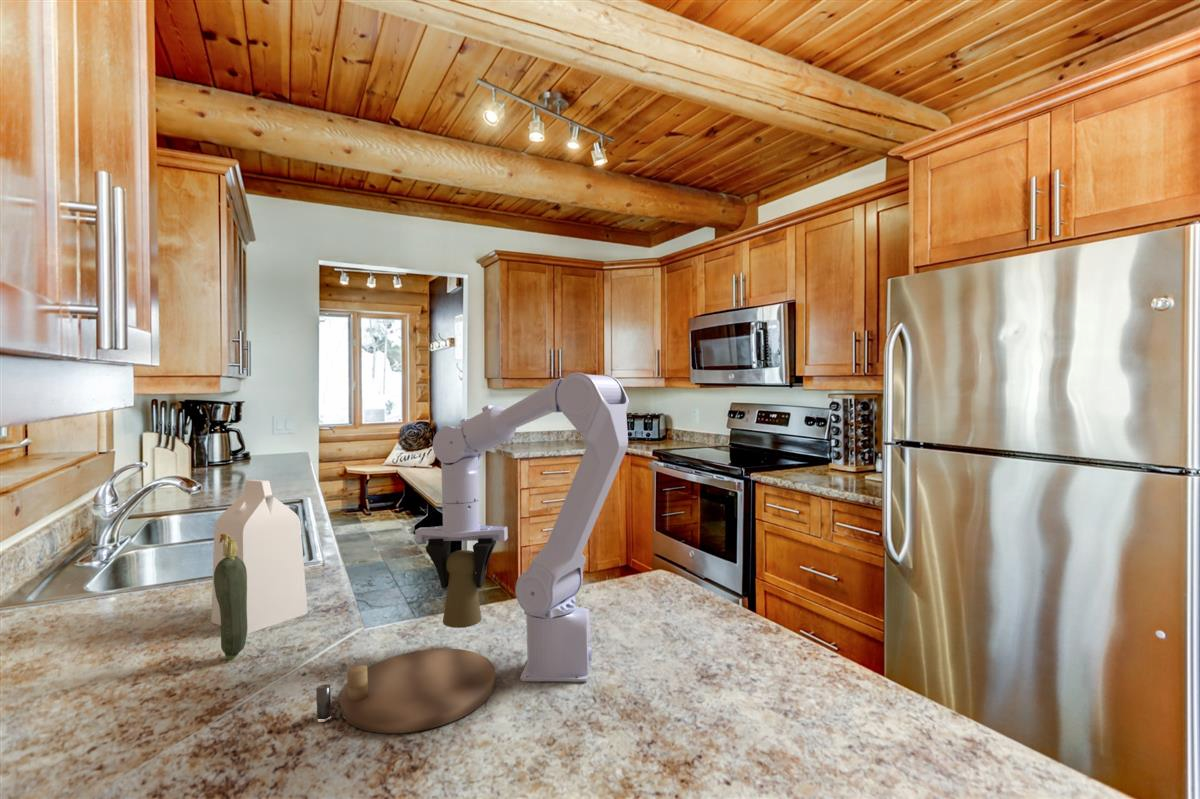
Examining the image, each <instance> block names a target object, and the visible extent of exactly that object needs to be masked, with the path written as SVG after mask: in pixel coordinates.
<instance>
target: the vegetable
mask: <svg viewBox="0 0 1200 799" xmlns="http://www.w3.org/2000/svg"><path fill="white" fill-rule="evenodd" d="M222 539H223V540H224V544H223V556H225V557H226V558H224V559H222V560H221V561H220V562H219V563H218V564H217V566H216V569H215V572H214V586H215V592H216V598H217V601H218V603H219V607H220V616H221V626H220V647H221V650H222V652H223V653H224V659H225V660H231V661H232V660H234V659H235V658H236V657H237V656H238V655H239V653H241V651H242V650H243V649H244V648H245V646H246V642H247V636H248V634H247V571H246V567H245V564H244V562H243V561H242V560H241V559H240V558H238V557H237V551H238V546H237V543H236V542H235V541H234V539H232V537H231V536H229V535H228V534H225V533H222V534H221V538H220V542H219V543H221V542H222V541H223V540H222Z"/></svg>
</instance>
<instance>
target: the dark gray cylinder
mask: <svg viewBox="0 0 1200 799" xmlns="http://www.w3.org/2000/svg"><path fill="white" fill-rule="evenodd" d="M315 690H316V693H315V695H316V697H315V698H316V719H317V718H318V719H326V718H328V717H330V716H331V717H332V701H331V700H332V698H331V697H332V696H331V693H332V692H331V685H330V684H329V683H328V684H327V683H325V684H321V685H318V686H317V687H316V689H315Z"/></svg>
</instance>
